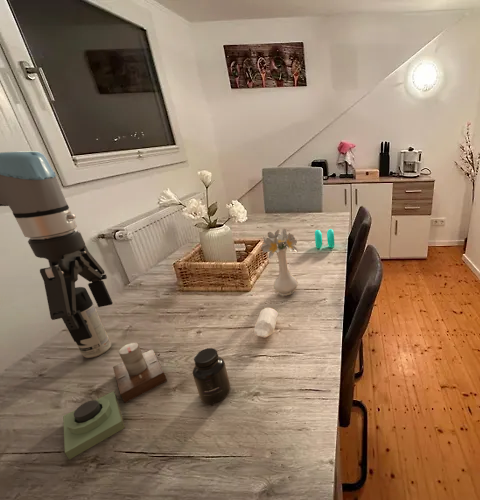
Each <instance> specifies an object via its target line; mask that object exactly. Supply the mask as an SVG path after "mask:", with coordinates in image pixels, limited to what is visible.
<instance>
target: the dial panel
mask: <svg viewBox="0 0 480 500" xmlns="http://www.w3.org/2000/svg"><path fill="white" fill-rule="evenodd" d="M142 354H143V357H144V359H145V361H146V364H147V368H146V369H145V370H144V371H143V372H141V373H140V374H137V375H129V374H128V372H127V369H126V367H125V365H124V363H123V362H120V363H119V364H116V365H114V366H112V369H113V373H114V376H115V380H116V382H117V387H118V391H119V394H120V397H121V399H122V401H123V403H124V404H126V403H128V402H130V401H132V400H134V399H136V398H138V397H140V396H141V395H143V394H145V393H147V392H149V391H151V390H152V389H155V388H156V387H159V386H160V385H161V384H164V383H166V382H167V381H168V379H167V377H166V374H165V372H164V370H163V367H162V365H161V362H160V361H159V359H158V357H157V355H156V353H155V351H154V349H153V348H152V349H149V350H147V351H145V352H142Z"/></svg>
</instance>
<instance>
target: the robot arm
mask: <svg viewBox="0 0 480 500" xmlns="http://www.w3.org/2000/svg"><path fill="white" fill-rule="evenodd" d="M0 207H9V208H10V210H11V212H12V215H13V217H14V218H15V221H16V222H17V224H18V226H19V228H20V230H21V232H22V234H23V236H24V238H28V241H27V243H28V245H29V247H30V249H31V251H32V253H33V254H34V257H36V258H39V259H46V260H47V261H48V265H49V266H48V267H44V268H40V269H39V274H40V276H41V279H42V280H43V285H44V290H45V294H46V299H47V305H48V311H49V315H50V319H51V320H52V321H55V320H62V321H63V323H64V325H65V327H66V329H67V330H68V332H69V334H70V336H71V338H72V340H73V342H74V343H76V342H77V341H81V340H85V339H89V338H91V337H92V334H91V332H90V330H89V328H88V326H87V324H86V322H85V320H84V318H83V316H82V314H81V312H80V310H79V311H76V296H75V288H76V282H78V280H79V276H80V277H82V278H83V279H85V280H86V281H88V282H89V283H87V286H88V288H89V290H90V292H91V294H92V296H93V299H94V301H95V303H96V305H97V308H102V307H107V306H111V305H113V304H114V302H113V300H112V297H111V296H110V293H109V291H108V289H107V287H106V285H105V282H104V280H107V279H108V276H107V274H105V270H104V269H103V267H102V266H101V265H100V263H98V261H97V260H96V259H95V257H94V256H93V255H92V254H91V252H90V251H89V250H88V248H87V246H86V242H85V240H84V238H83V235H82V233H81V231H80V230H79V229H77V227H78V224H77V223H76V221H75V219H76V218H77V217H76V214H74V213H72V212H71V209H70V206H69V205H68V203H67V200H66V198H65V196H64V193H63V191H62V188H61V186H60V184H59V181H58V178H57V175H56V172H55V171H54V169H53V168H52V166H51V164H50V162H49V160H48V159H47V157H46V155H44V153H42V152H40V151H38V150H22V151H4V152H3V151H2V152H0Z"/></svg>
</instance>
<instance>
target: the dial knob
mask: <svg viewBox="0 0 480 500" xmlns="http://www.w3.org/2000/svg"><path fill="white" fill-rule="evenodd" d="M118 354H119V357H120V358H121V362H122V363H124V365H125V367H126V369H127V372H128V374H129V375H137V374H140V373H141V372H143V371H144V370H145V369H146V368H147V364H146V361H145V359H144V357H143V352H142V349H141V347H140V345H139V343H137V342H130V343H127V344H125V345H123V346H122V347H121V348H120V349H118Z"/></svg>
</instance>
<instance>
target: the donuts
mask: <svg viewBox="0 0 480 500" xmlns="http://www.w3.org/2000/svg"><path fill="white" fill-rule="evenodd" d="M326 240H327V245H328V247H329V248H334V247H335V231H334V229H332V228H329V229H328V230H327V232H326ZM314 242H315V247H316V248H317V249H321V248H322V246H323V233H322V231H321V230H320V229H316V230H314Z"/></svg>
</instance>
